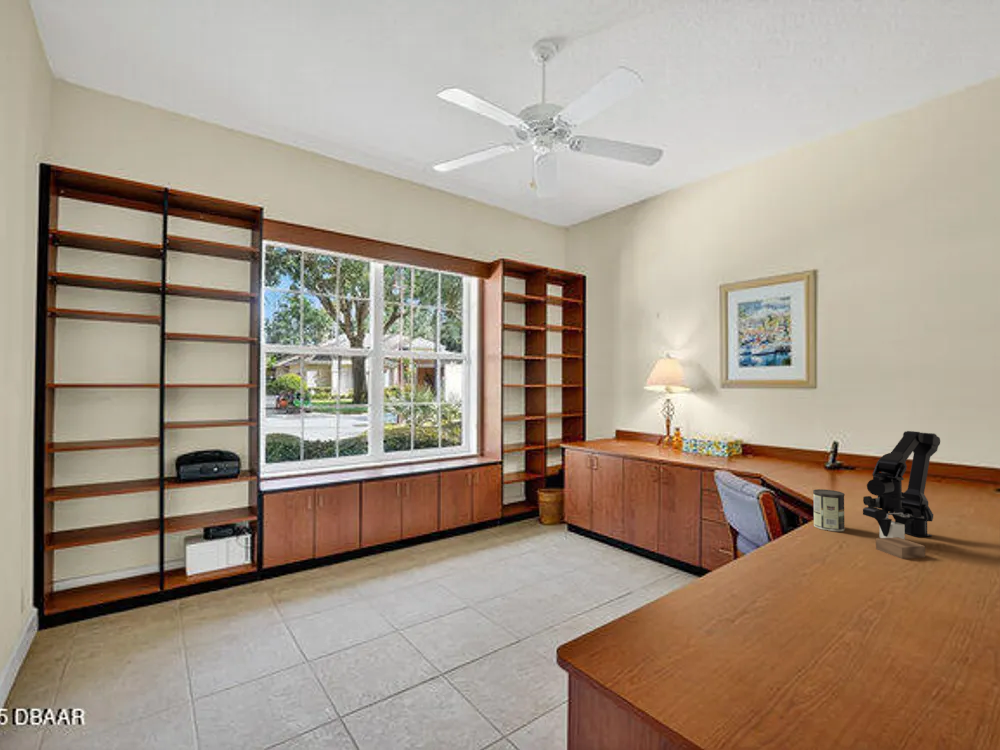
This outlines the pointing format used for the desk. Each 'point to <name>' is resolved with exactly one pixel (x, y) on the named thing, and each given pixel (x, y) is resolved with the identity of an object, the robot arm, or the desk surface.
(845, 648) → the desk surface
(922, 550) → the walnut block
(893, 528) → the cream block
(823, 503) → the coffee can
